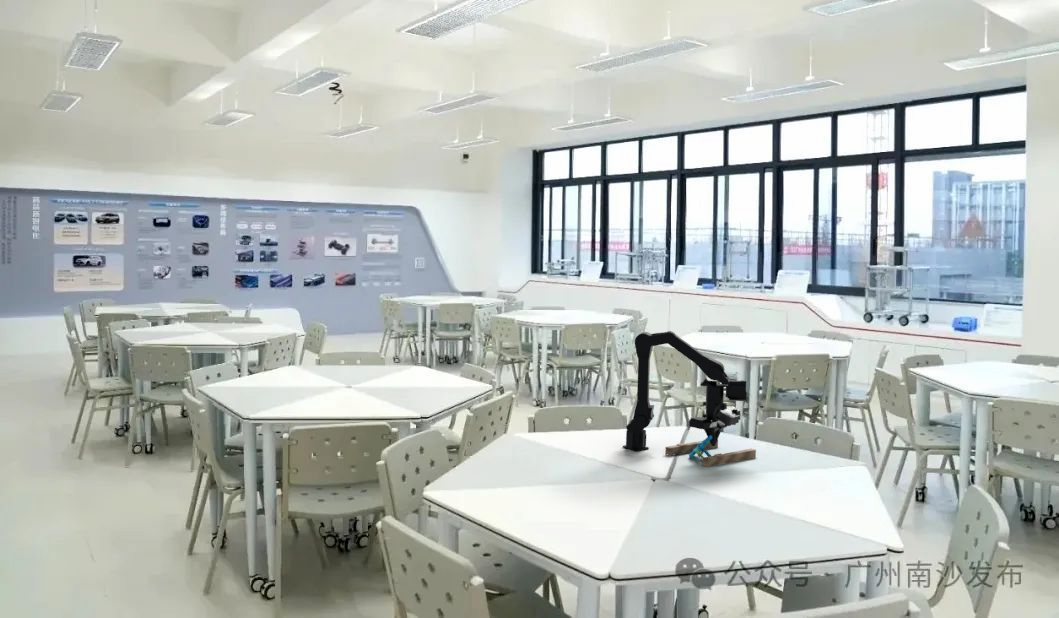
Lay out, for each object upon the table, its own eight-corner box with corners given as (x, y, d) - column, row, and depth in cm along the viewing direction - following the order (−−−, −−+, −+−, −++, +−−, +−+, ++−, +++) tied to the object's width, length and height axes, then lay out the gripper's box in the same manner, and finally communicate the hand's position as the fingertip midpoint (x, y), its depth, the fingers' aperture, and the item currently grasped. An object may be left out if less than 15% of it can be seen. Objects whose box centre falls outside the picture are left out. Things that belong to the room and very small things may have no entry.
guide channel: (707, 467, 252) (707, 458, 251) (665, 454, 266) (665, 446, 266) (755, 457, 266) (756, 448, 266) (713, 445, 280) (713, 437, 280)
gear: (692, 447, 269) (712, 429, 264) (704, 460, 268) (725, 443, 263) (682, 459, 259) (704, 441, 255) (695, 473, 258) (717, 455, 254)
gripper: (715, 406, 253) (713, 455, 254) (752, 400, 264) (751, 447, 265) (688, 401, 262) (687, 448, 263) (725, 395, 273) (724, 440, 274)
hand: (713, 446), depth 266 cm, fingers closed
